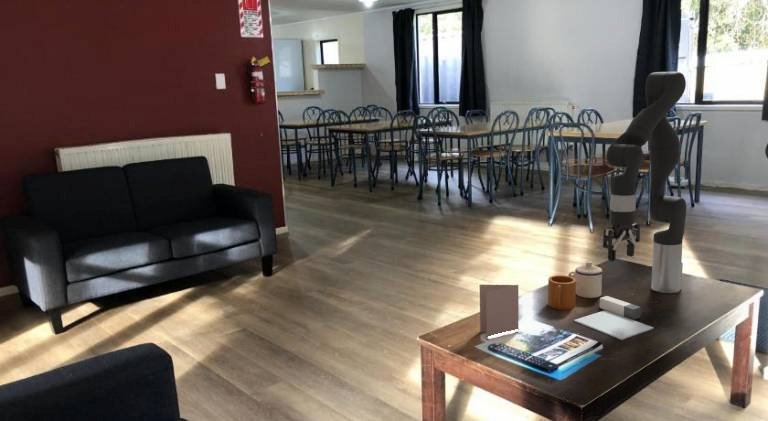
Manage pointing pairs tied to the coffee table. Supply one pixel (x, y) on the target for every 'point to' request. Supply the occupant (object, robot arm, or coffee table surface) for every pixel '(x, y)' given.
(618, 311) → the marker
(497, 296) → the greeting card
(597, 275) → the teacup with lid
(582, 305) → the coffee table surface
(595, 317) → the paper pad
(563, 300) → the mug
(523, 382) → the coffee table surface
